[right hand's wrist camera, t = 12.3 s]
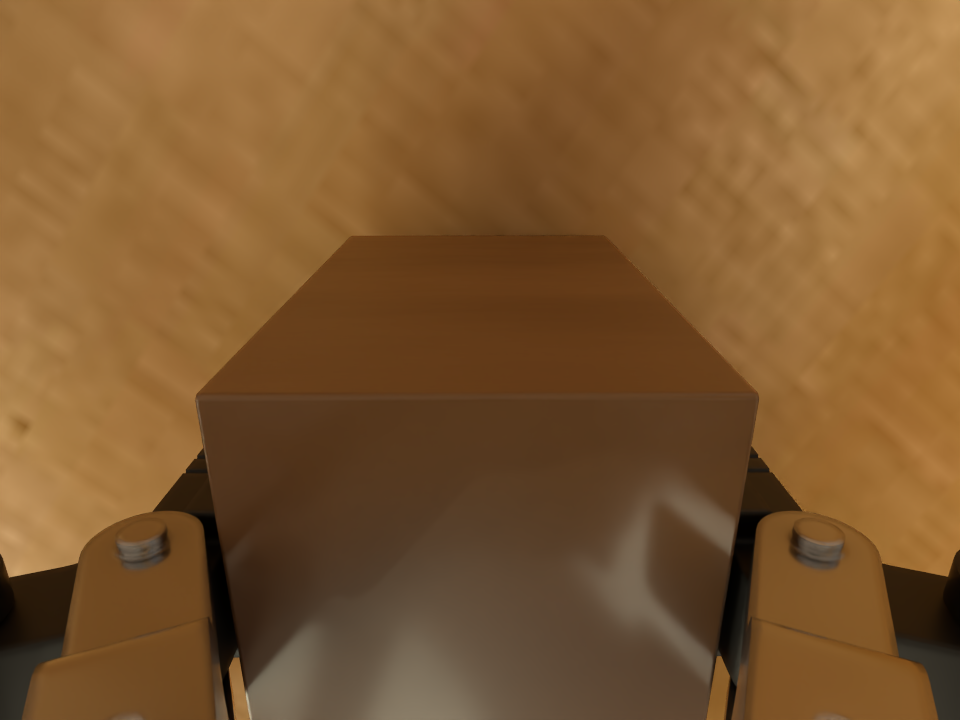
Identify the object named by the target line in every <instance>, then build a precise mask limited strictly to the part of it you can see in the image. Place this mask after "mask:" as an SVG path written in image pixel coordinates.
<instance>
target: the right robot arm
mask: <svg viewBox="0 0 960 720" xmlns="http://www.w3.org/2000/svg"><path fill="white" fill-rule="evenodd" d="M717 656H722V659H723V661H724V663H725V666H726V668H727V670H728V673H729V675H730V678H729V684H728V689H727V696H726V704H725V713H724V720H960V550H959V551H958V552H957V553H956V555H955V557H954V560H953V563H952V566H951V569H950V572H949V576H948V577H946V576H941V575H936V574H931V573H926V572H921V571H916V570H910V569H905V568H900V567H895V566H890V565H886V564H882V562H881V557H880V554H879V551H878V550H877V548H876V547H875V545H874V544H873V543H872V542H871V541H870V540H869V539H868V538H867V537H866V536H864V535H863V534H862V533H860V532H859V531H857V530H856V529H854V528H853V527H851V526H849V525H847V524H845V523H843V522H840V521H838V520H836V519H833V518H830V517H827V516H824V515H820V514H816V513H810V512H803V511H802V510H801V508H800V507H799V506H798V505H797V503H796V502H795V501H794V500H793V498H792V497H791V496H790V494H789V493H788V492H787V491H786V489H785V488H784V487H783V486H782V484H781V483H780V482H779V481H778V479H777V478H776V477H775V476H774V474H773V473H772V472H769V468H768V467H767V465H766V464H765V463H764V462H763V460H762V459H761V458H758V454H757V453H756V451H755V450H754V449H753V448H752V446H751V450H750V456H749V462H748V468H747V475H746V481H745V487H744V493H743V499H742V505H741V511H740V517H739V523H738V529H737V535H736V541H735V547H734V554H733V560H732V566H731V572H730V578H729V584H728V590H727V596H726V602H725V608H724V614H723V620H722V626H721V633H720V639H719V645H718V651H717ZM233 657H239V652H238V646H237V641H236V635H235V629H234V623H233V617H232V611H231V605H230V600H229V594H228V588H227V582H226V576H225V570H224V564H223V559H222V553H221V547H220V541H219V535H218V529H217V523H216V518H215V512H214V506H213V500H212V494H211V488H210V483H209V477H208V471H207V465H206V459H205V453H204V448H203V449H202V450H201V452H200V453H199V454H198V455H197V459H194V460H193V462H192V463H191V464H190V465H189V467H188V468H187V469H186V473H183V474H182V475H181V477H180V478H179V479H178V480H177V482H176V483H175V484H174V485H173V487H172V488H171V489H170V490H169V492H168V493H167V494H166V495H165V497H164V498H163V499H162V500H161V502H160V503H159V504H158V505H157V507H156V508H155V509H154V510H153V512H150V513H144V514H140V515H136V516H133V517H130V518H127V519H124V520H122V521H120V522H117V523H115V524H113V525H111V526H109V527H107V528H106V529H104V530H103V531H101V532H100V533H98V534H97V535H96V536H94V537H93V538H92V539H91V540H90V541H89V542H88V543H87V544H86V545H85V547H84V548H83V550H82V551H81V554H80V557H79V562H78V563H77V564H74V565H69V566H65V567H61V568H56V569H51V570H46V571H41V572H36V573H30V574H25V575H20V576H15V577H10V578H9V576H8V573H7V570H6V567H5V564H4V561H3V558H2V556H1V554H0V720H236V713H235V705H234V696H233V689H232V684H231V678H230V673H229V666H230V664H231V662H232V660H233Z"/></svg>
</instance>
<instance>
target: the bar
mask: <svg viewBox="0 0 960 720" xmlns="http://www.w3.org/2000/svg"><path fill="white" fill-rule="evenodd" d="M195 400H196V406H197V412H198V418H199V424H200V430H201V436H202V442H203V447H204V453H205V459H206V465H207V471H208V477H209V483H210V488H211V494H212V500H213V506H214V512H215V518H216V523H217V529H218V535H219V541H220V547H221V553H222V559H223V564H224V570H225V576H226V582H227V588H228V594H229V600H230V605H231V611H232V617H233V623H234V629H235V635H236V641H237V646H238V652H239V658H240V664H241V670H242V676H243V681H244V687H245V693H246V699H247V705H248V711H249V717H250V720H706V718H707V712H708V705H709V699H710V693H711V687H712V681H713V675H714V669H715V663H716V657H717V651H718V645H719V639H720V633H721V626H722V620H723V614H724V608H725V602H726V596H727V590H728V584H729V578H730V572H731V566H732V560H733V554H734V547H735V541H736V535H737V529H738V523H739V517H740V511H741V505H742V499H743V493H744V487H745V481H746V475H747V468H748V462H749V456H750V450H751V444H752V438H753V432H754V426H755V420H756V414H757V408H758V402H759V396H758V393H757V392H756V391H755V390H754V389H753V388H752V387H751V386H750V385H749V383H748V382H747V381H746V380H745V379H744V378H743V377H742V376H741V375H740V374H739V373H738V372H737V371H736V370H735V369H734V368H733V367H732V366H731V365H730V364H729V363H728V362H727V361H726V360H725V359H724V358H723V357H722V356H721V355H720V354H719V353H718V352H717V351H716V350H715V349H714V348H713V346H712V345H711V344H710V343H709V342H708V341H707V340H706V339H705V338H704V337H703V336H702V335H701V334H700V333H699V332H698V331H697V330H696V329H695V328H694V327H693V326H692V325H691V324H690V323H689V322H688V321H687V320H686V319H685V318H684V317H683V316H682V315H681V314H680V313H679V312H678V311H677V310H676V308H675V307H674V306H673V305H672V304H671V303H670V302H669V301H668V300H667V299H666V298H665V297H664V296H663V295H662V294H661V293H660V292H659V291H658V290H657V289H656V288H655V287H654V286H653V285H652V284H651V283H650V282H649V281H648V280H647V279H646V278H645V277H644V276H643V275H642V274H641V273H640V271H639V270H638V269H637V268H636V267H635V266H634V265H633V264H632V263H631V262H630V261H629V260H628V259H627V258H626V257H625V256H624V255H623V254H622V253H621V252H620V251H619V250H618V249H617V248H616V247H615V246H614V245H613V244H612V243H611V242H610V241H609V240H608V239H607V238H606V237H605V236H351V237H350V238H349V239H348V240H347V241H346V242H345V243H344V244H343V245H342V246H341V247H340V248H339V249H338V250H337V251H336V252H335V253H334V254H333V255H332V256H331V257H330V258H329V259H328V260H327V261H326V262H325V263H324V264H323V265H322V266H321V267H320V268H319V269H318V270H317V271H316V272H315V273H314V274H313V276H312V277H311V278H310V279H309V280H308V281H307V282H306V283H305V284H304V285H303V286H302V287H301V288H300V289H299V290H298V291H297V292H296V293H295V294H294V295H293V296H292V297H291V298H290V299H289V300H288V301H287V302H286V303H285V304H284V305H283V306H282V307H281V308H280V309H279V310H278V311H277V312H276V313H275V314H274V315H273V316H272V318H271V319H270V320H269V321H268V322H267V323H266V324H265V325H264V326H263V327H262V328H261V329H260V330H259V331H258V332H257V333H256V334H255V335H254V336H253V337H252V338H251V339H250V340H249V341H248V342H247V343H246V344H245V345H244V346H243V347H242V348H241V349H240V350H239V351H238V352H237V353H236V354H235V355H234V356H233V357H232V358H231V360H230V361H229V362H228V363H227V364H226V365H225V366H224V367H223V368H222V369H221V370H220V371H219V372H218V373H217V374H216V375H215V376H214V377H213V378H212V379H211V380H210V381H209V382H208V383H207V384H206V385H205V386H204V387H203V388H202V389H201V390H200V391H199V392H198V393H197V395H196V399H195Z"/></svg>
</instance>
